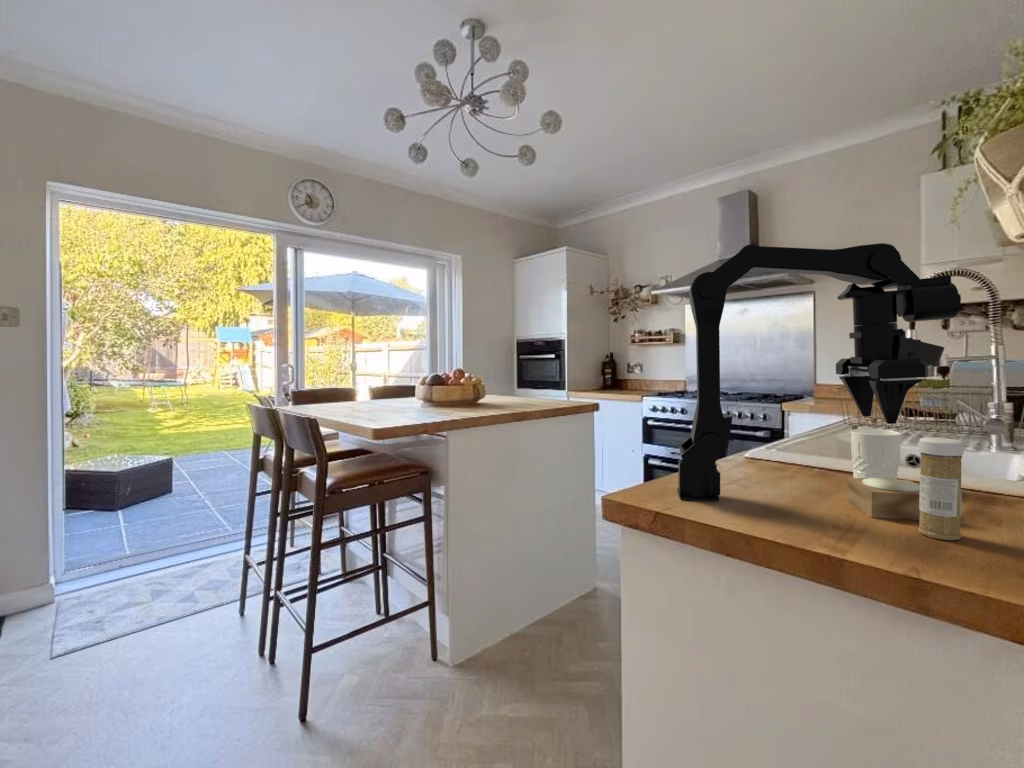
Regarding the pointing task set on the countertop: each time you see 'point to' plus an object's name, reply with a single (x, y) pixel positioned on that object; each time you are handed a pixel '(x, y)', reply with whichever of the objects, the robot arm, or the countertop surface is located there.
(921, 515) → the sprinkles bottle
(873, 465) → the white cup
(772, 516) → the countertop surface
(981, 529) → the countertop surface
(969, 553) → the countertop surface
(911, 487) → the riser
